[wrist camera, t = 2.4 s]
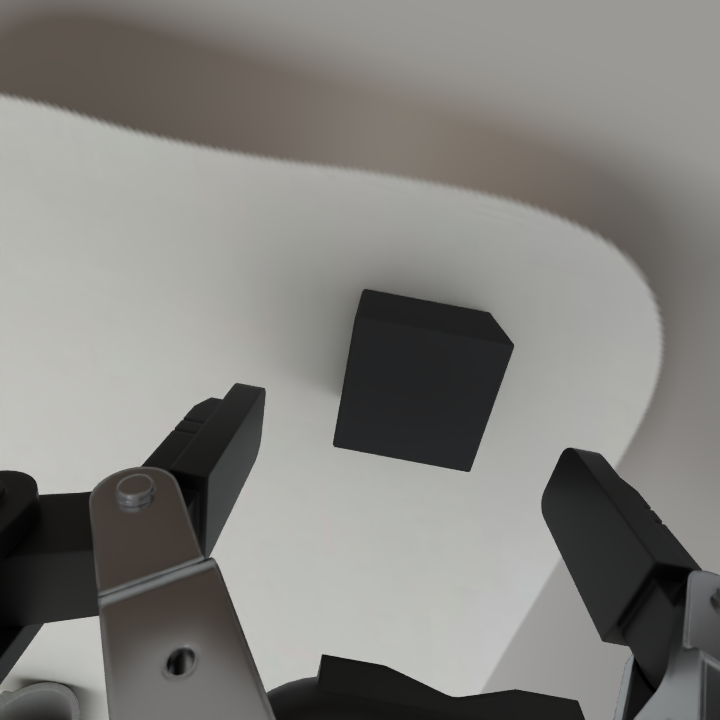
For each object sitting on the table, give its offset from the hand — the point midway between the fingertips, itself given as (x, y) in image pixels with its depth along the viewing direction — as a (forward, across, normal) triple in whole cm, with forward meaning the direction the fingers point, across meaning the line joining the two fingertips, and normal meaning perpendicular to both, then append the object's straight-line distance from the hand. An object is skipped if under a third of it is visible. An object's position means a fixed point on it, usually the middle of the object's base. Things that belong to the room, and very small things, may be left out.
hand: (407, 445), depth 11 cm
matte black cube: (+6, 0, 0) cm, 6 cm away
